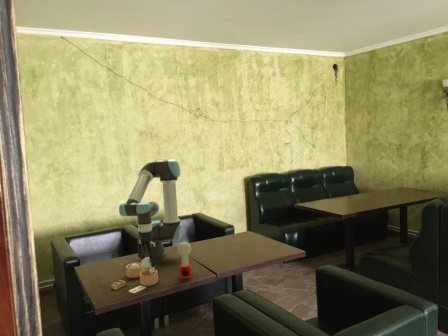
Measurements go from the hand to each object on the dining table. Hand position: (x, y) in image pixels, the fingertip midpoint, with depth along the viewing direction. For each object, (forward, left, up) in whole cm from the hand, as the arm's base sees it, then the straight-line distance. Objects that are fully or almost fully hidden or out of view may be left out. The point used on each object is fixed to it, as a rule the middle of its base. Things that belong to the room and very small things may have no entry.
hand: (148, 271), depth 205 cm
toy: (+12, +17, -7) cm, 22 cm away
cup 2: (0, 0, -6) cm, 6 cm away
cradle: (-10, -13, -6) cm, 18 cm away
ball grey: (0, 0, +5) cm, 5 cm away
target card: (+2, -10, -6) cm, 12 cm away
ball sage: (-16, +3, -3) cm, 17 cm away
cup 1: (-16, +3, -6) cm, 17 cm away
